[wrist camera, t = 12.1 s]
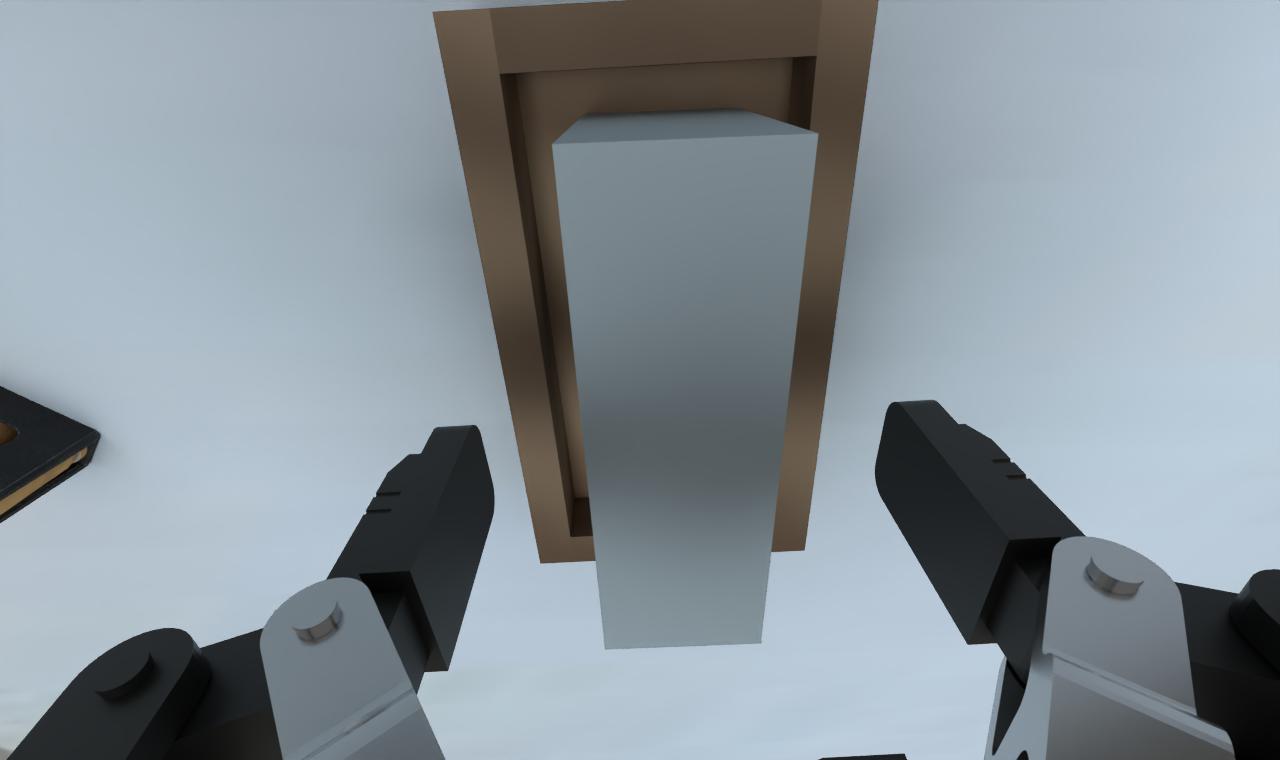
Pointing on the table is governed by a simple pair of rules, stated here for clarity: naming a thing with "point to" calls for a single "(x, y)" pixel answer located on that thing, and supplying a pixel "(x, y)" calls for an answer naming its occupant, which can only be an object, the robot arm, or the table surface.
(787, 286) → the long grey rectangular block
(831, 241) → the cradle jig
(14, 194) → the table surface
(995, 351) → the table surface
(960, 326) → the table surface
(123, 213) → the table surface
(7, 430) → the ammunition clip
